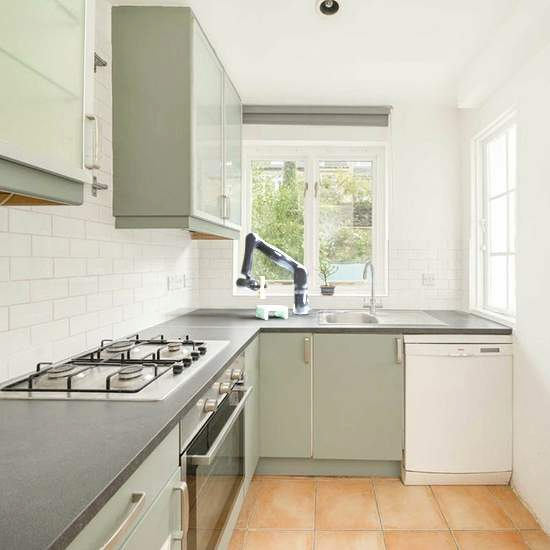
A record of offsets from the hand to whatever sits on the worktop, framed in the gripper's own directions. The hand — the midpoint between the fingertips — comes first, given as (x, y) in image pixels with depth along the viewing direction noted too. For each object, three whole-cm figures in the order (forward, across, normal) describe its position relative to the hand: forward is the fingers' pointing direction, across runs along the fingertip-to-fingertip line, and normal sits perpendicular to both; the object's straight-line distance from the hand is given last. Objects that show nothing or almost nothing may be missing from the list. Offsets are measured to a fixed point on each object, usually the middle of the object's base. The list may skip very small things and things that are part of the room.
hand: (263, 286), depth 298 cm
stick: (-3, 0, +8) cm, 8 cm away
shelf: (+2, +6, +20) cm, 21 cm away
